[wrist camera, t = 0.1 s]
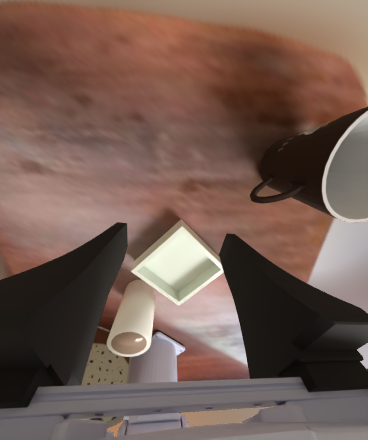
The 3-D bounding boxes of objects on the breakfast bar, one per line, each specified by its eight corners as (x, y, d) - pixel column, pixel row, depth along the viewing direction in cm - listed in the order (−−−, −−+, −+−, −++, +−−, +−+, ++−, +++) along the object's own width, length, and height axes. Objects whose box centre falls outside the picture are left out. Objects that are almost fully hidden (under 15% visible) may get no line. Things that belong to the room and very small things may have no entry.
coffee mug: (325, 131, 19) (471, 102, 10) (301, 198, 22) (397, 224, 13) (237, 122, 18) (309, 79, 9) (225, 194, 21) (269, 219, 12)
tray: (178, 292, 27) (178, 305, 24) (134, 260, 24) (130, 271, 21) (221, 259, 25) (226, 269, 22) (180, 219, 22) (182, 226, 19)
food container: (64, 338, 28) (13, 424, 19) (80, 318, 27) (32, 401, 18) (123, 358, 32) (104, 439, 22) (139, 341, 30) (126, 420, 21)
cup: (142, 307, 27) (131, 361, 20) (118, 292, 25) (97, 345, 18) (162, 290, 26) (159, 341, 19) (139, 274, 25) (126, 322, 17)
